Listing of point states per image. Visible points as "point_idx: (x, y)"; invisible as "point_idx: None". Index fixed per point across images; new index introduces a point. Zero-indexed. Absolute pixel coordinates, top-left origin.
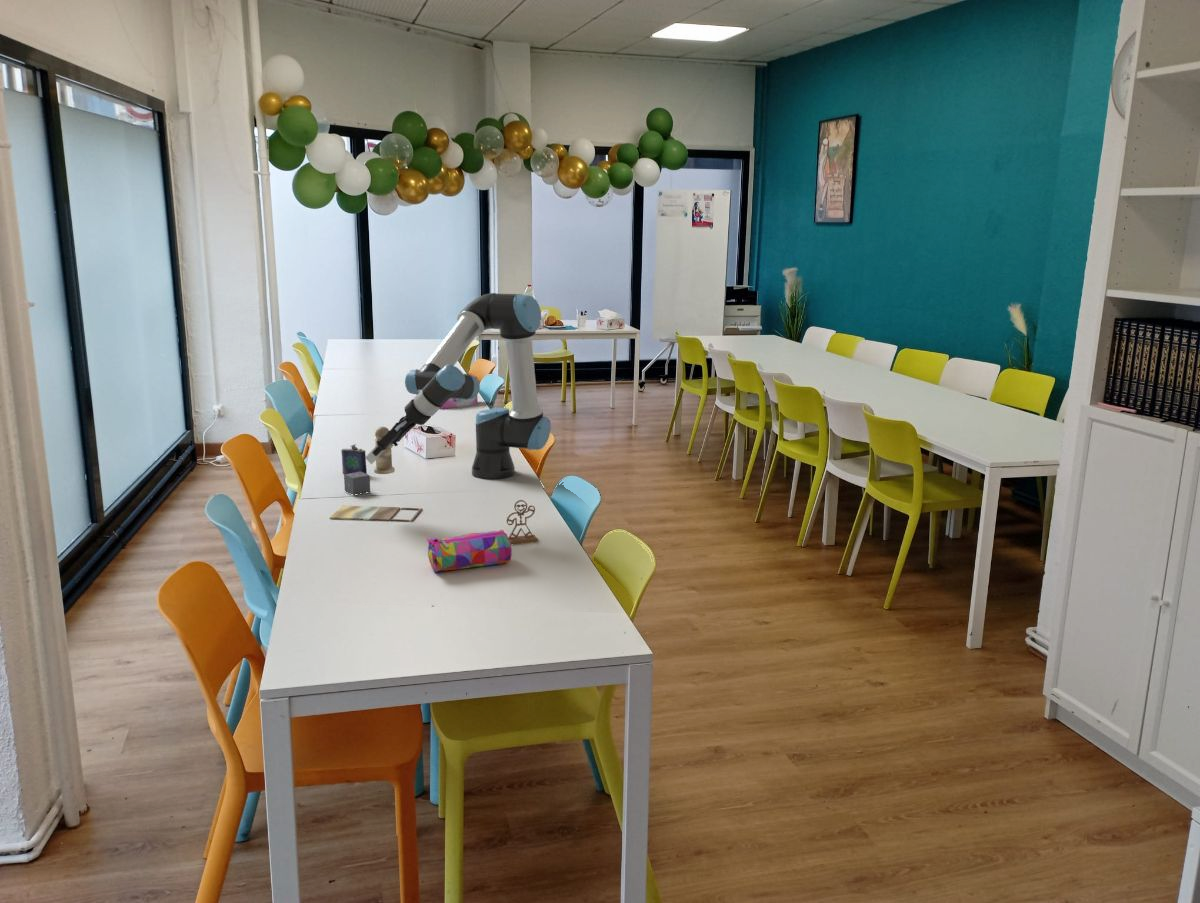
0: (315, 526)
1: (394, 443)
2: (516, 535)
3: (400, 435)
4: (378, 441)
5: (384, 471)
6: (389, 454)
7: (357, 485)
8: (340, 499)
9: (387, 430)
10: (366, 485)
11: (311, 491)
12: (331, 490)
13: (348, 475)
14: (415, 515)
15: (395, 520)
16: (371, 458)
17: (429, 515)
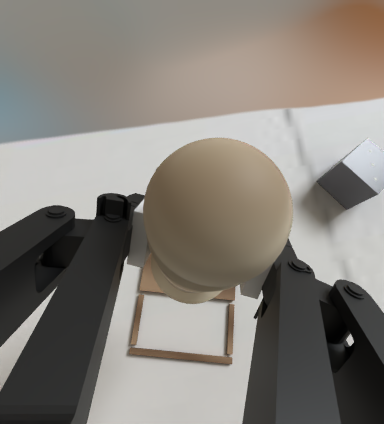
0: (116, 150)
1: (260, 308)
2: None
3: (249, 401)
4: (117, 206)
5: (151, 267)
6: (175, 285)
7: (337, 178)
8: (288, 161)
9: (195, 258)
10: (352, 196)
11: (329, 106)
12: (343, 136)
13: (362, 148)
14: (169, 355)
15: (137, 306)
16: None
17: (181, 394)
